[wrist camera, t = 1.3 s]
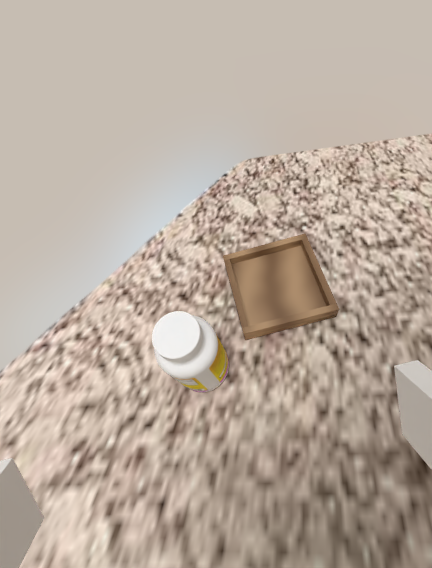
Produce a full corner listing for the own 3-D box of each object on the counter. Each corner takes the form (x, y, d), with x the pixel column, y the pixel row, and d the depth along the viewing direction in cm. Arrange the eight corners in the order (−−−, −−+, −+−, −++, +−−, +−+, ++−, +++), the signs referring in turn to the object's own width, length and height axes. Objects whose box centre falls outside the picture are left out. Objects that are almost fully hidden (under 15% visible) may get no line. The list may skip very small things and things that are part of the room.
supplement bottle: (215, 332, 42) (193, 289, 31) (238, 377, 39) (224, 346, 28) (171, 356, 42) (132, 321, 30) (190, 403, 38) (155, 383, 27)
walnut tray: (304, 243, 46) (305, 233, 44) (335, 316, 40) (339, 309, 38) (225, 264, 47) (222, 255, 45) (245, 340, 41) (243, 333, 39)
